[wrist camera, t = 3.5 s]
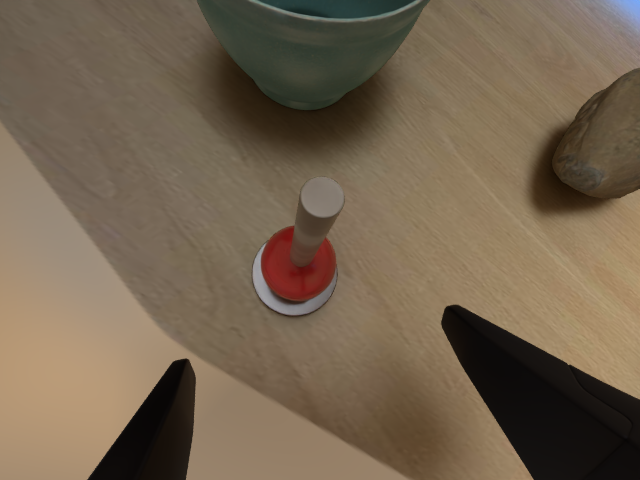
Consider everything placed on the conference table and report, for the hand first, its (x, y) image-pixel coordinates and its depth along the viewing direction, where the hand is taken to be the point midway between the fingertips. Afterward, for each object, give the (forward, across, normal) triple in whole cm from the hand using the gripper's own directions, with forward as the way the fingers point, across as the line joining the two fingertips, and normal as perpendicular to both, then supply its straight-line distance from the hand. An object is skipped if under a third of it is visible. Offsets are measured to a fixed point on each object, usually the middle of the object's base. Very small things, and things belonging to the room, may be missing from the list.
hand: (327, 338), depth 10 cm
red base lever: (+10, 0, +5) cm, 11 cm away
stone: (+15, -30, 0) cm, 33 cm away
